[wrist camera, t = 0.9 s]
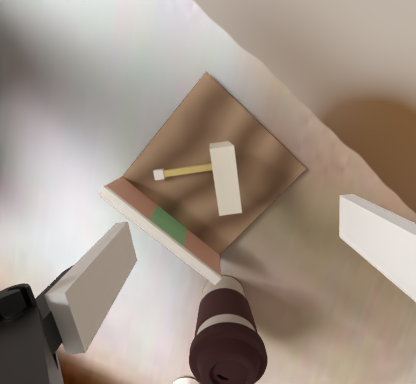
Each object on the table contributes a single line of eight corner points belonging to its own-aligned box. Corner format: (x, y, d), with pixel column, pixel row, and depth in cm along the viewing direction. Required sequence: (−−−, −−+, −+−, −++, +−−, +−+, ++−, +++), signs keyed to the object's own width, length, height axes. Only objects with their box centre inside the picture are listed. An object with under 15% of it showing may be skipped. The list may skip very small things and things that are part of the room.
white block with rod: (226, 139, 34) (234, 145, 23) (231, 185, 36) (241, 212, 25) (151, 150, 35) (122, 162, 23) (161, 195, 37) (138, 226, 25)
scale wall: (117, 182, 36) (97, 194, 30) (122, 176, 36) (103, 186, 30) (214, 260, 40) (214, 285, 33) (219, 254, 39) (221, 278, 33)
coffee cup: (236, 259, 41) (251, 331, 27) (258, 302, 43) (283, 390, 29) (186, 280, 42) (173, 360, 28) (209, 321, 45) (209, 415, 30)
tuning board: (118, 182, 38) (116, 184, 36) (206, 73, 33) (206, 71, 32) (212, 257, 41) (212, 261, 40) (303, 167, 37) (306, 168, 35)
